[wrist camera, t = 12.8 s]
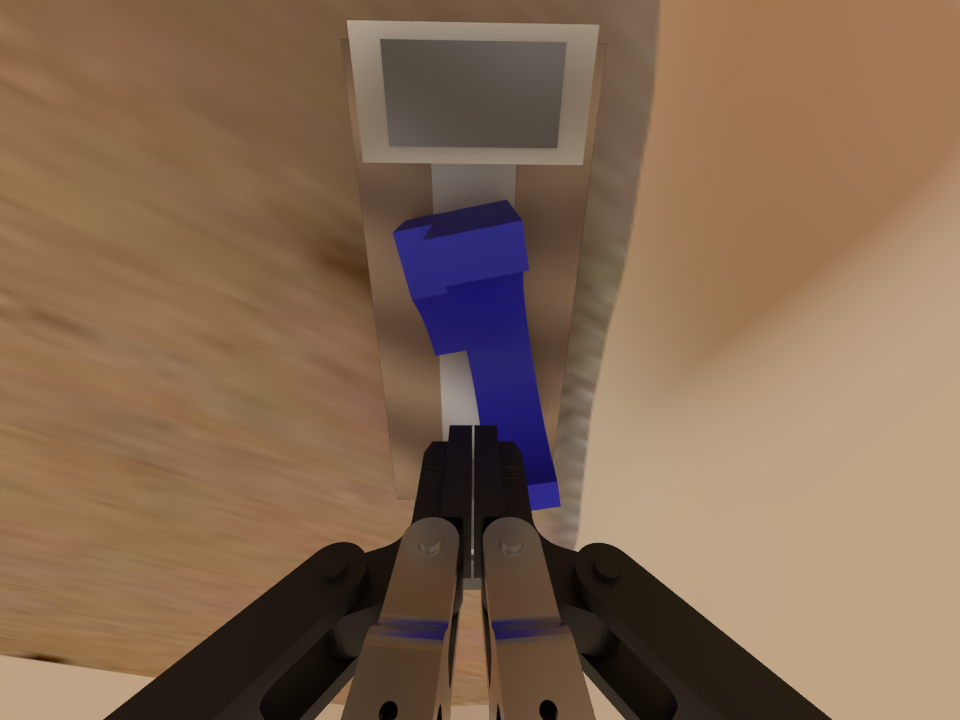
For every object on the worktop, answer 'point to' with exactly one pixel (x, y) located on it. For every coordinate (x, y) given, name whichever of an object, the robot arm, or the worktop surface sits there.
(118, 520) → the worktop surface
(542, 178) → the rail board
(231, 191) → the worktop surface
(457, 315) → the blue curved piece
